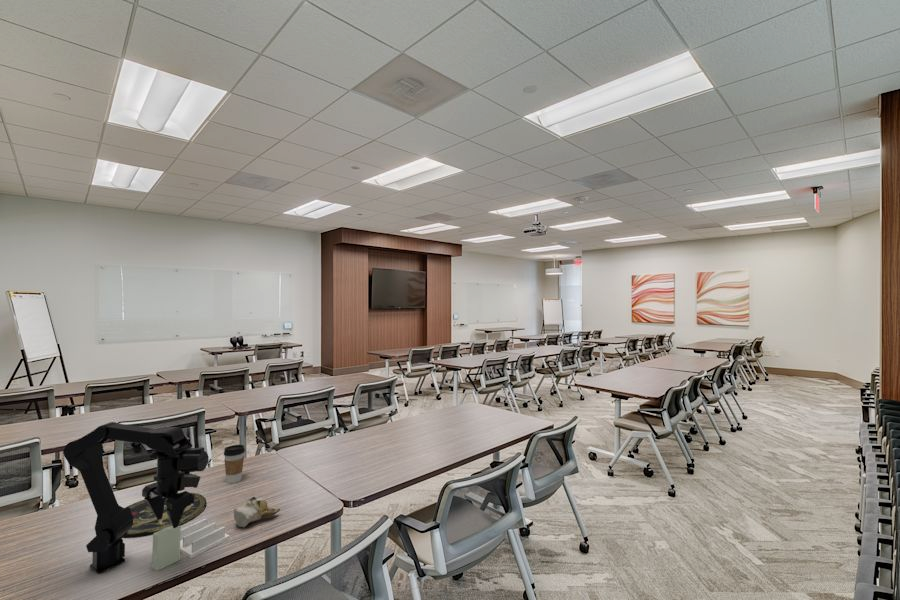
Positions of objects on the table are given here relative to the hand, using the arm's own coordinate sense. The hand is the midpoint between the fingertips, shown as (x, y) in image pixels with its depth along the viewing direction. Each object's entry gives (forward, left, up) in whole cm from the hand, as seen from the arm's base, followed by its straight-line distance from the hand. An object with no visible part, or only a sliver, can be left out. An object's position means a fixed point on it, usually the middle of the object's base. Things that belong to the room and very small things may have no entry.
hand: (167, 523), depth 118 cm
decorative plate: (+13, +33, -12) cm, 38 cm away
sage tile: (0, 0, -12) cm, 12 cm away
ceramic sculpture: (+28, -1, -12) cm, 31 cm away
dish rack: (+11, +2, -12) cm, 16 cm away
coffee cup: (+44, +37, -12) cm, 59 cm away
